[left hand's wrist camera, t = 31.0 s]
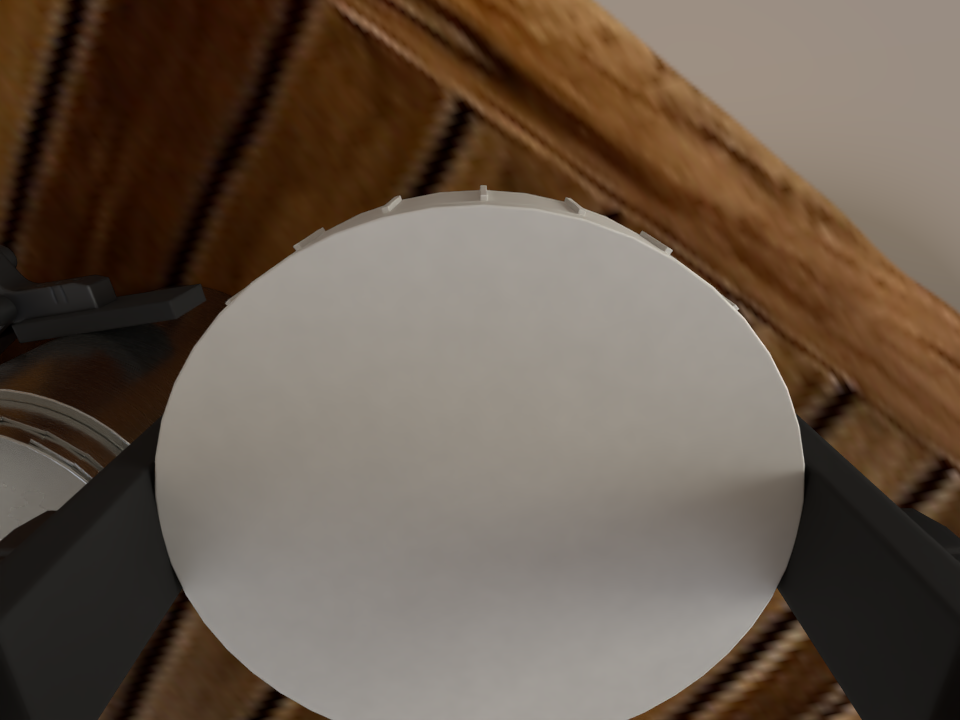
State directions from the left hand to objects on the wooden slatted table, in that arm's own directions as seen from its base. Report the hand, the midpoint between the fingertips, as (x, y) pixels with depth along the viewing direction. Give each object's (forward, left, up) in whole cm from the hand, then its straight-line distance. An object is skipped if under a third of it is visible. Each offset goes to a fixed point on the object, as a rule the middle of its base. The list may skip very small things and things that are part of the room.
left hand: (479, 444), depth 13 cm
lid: (0, 0, +3) cm, 3 cm away
